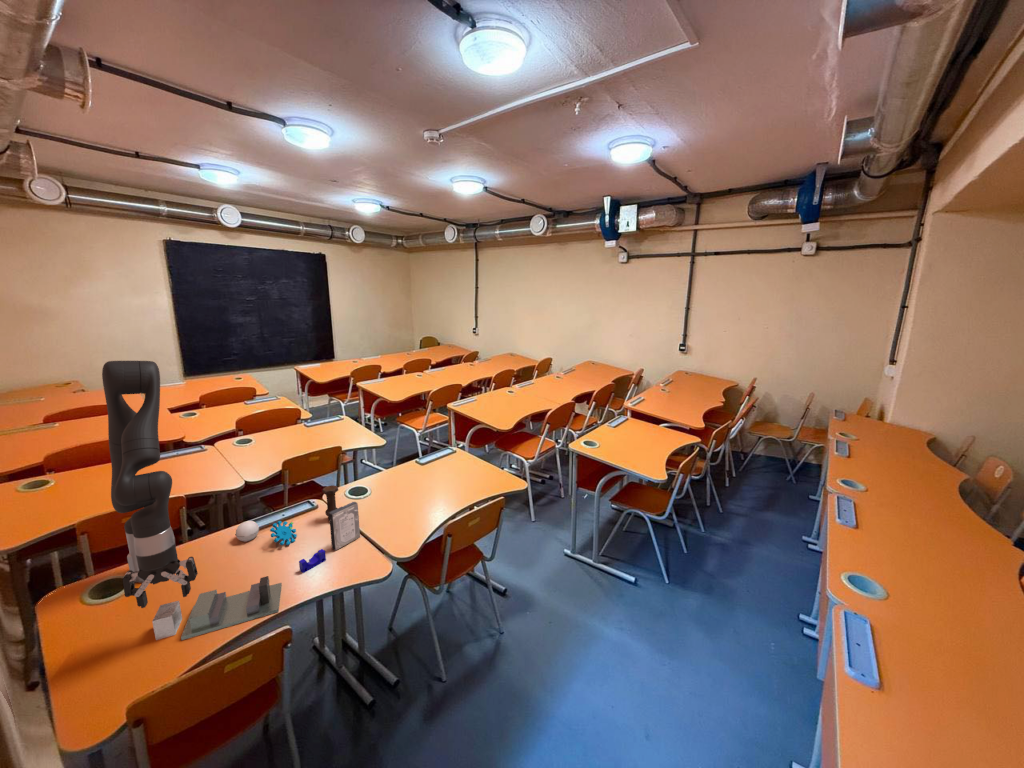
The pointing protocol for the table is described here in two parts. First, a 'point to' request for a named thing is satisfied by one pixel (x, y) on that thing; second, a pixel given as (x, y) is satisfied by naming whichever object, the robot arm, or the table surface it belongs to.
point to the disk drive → (344, 525)
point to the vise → (226, 611)
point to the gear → (283, 532)
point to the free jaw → (258, 595)
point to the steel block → (167, 620)
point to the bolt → (330, 498)
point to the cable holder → (312, 561)
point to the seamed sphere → (247, 531)
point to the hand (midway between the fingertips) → (165, 600)
